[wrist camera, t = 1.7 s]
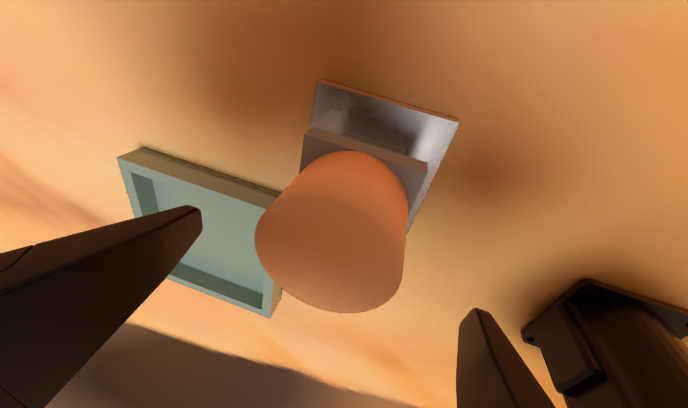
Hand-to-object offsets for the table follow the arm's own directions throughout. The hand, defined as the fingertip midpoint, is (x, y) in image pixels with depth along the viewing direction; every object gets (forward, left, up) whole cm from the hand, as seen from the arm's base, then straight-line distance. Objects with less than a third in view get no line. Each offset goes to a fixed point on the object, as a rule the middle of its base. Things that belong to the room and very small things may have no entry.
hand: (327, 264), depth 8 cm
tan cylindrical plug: (0, 0, -5) cm, 5 cm away
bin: (+10, +10, -8) cm, 16 cm away
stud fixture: (0, 0, -8) cm, 8 cm away
